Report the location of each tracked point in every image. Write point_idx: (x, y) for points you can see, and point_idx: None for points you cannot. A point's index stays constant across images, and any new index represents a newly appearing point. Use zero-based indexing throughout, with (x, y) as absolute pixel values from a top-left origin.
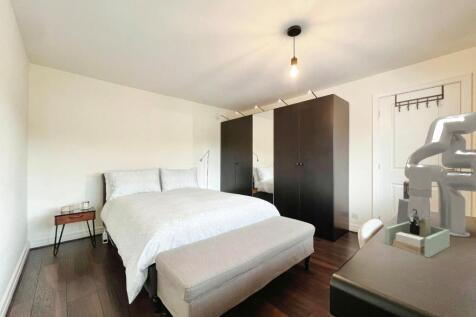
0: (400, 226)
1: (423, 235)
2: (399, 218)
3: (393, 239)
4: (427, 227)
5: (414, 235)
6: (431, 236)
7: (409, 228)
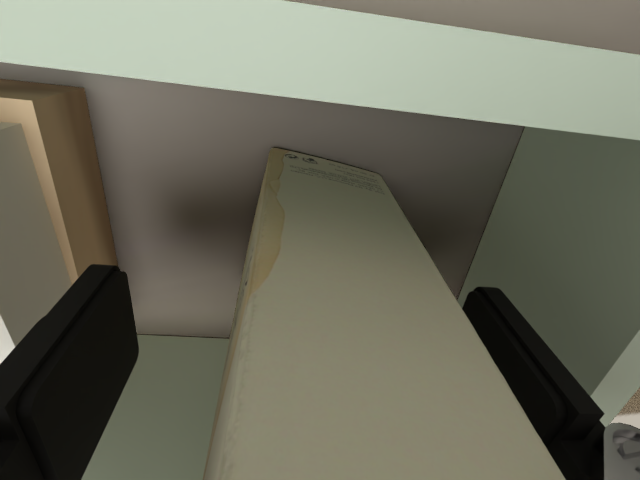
0: (190, 78)
1: (225, 360)
2: None
3: None
4: None
5: (5, 339)
6: None
7: (255, 236)
